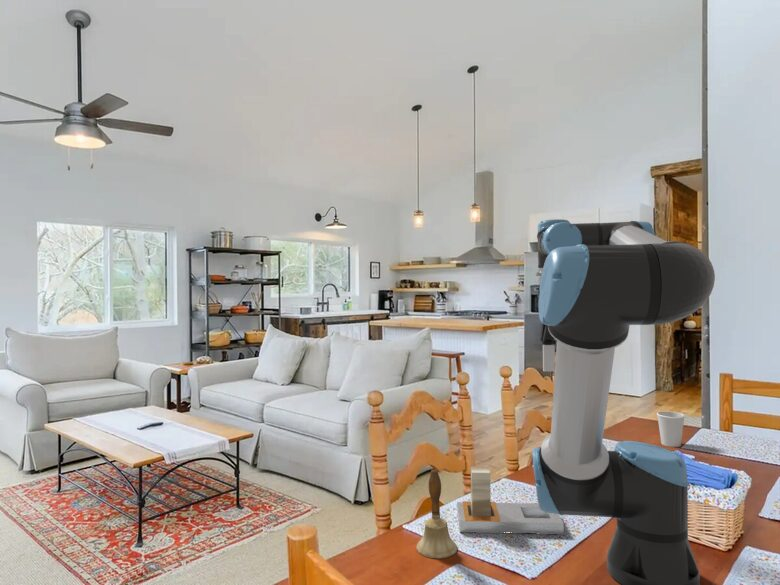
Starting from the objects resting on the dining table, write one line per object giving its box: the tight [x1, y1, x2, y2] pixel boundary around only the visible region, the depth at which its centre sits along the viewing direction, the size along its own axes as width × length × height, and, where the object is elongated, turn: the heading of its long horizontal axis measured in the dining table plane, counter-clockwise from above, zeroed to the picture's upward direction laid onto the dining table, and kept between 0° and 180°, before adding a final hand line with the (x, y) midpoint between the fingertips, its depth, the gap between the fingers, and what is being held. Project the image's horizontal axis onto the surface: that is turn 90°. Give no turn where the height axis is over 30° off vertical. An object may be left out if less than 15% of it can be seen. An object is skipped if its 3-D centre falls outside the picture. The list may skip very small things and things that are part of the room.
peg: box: [470, 465, 492, 516], centre depth 118 cm, size 4×4×12 cm
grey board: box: [456, 500, 565, 535], centre depth 117 cm, size 10×22×3 cm, turn 86°
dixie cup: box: [656, 410, 686, 448], centre depth 173 cm, size 8×8×10 cm
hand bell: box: [415, 468, 458, 559], centre depth 106 cm, size 8×8×16 cm
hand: (555, 376), depth 124 cm, fingers open, 13 cm apart
